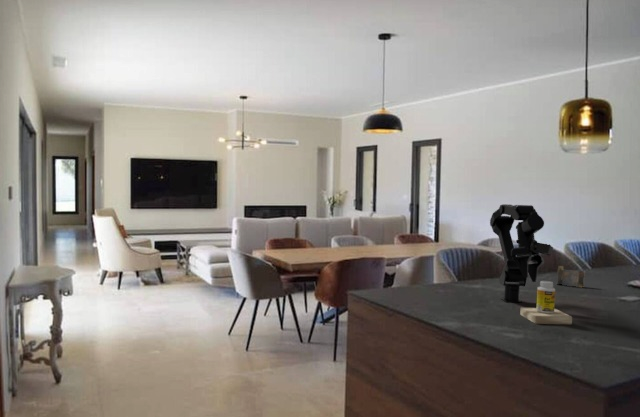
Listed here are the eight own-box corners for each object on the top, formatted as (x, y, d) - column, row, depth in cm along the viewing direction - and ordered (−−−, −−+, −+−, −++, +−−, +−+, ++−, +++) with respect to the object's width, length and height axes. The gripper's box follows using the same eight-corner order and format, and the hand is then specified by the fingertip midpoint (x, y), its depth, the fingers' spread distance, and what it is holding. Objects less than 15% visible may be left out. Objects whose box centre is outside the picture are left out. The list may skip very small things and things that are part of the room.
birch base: (520, 314, 181) (520, 307, 180) (554, 315, 181) (554, 308, 181) (535, 323, 169) (535, 315, 168) (571, 324, 169) (572, 316, 169)
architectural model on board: (556, 286, 243) (557, 265, 242) (556, 285, 246) (557, 264, 245) (583, 288, 238) (585, 267, 238) (583, 287, 241) (584, 266, 240)
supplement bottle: (543, 314, 171) (544, 283, 171) (532, 310, 177) (534, 280, 176) (557, 313, 173) (559, 283, 172) (547, 309, 178) (548, 280, 178)
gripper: (540, 228, 179) (545, 272, 174) (556, 240, 193) (561, 282, 188) (508, 233, 186) (512, 276, 181) (525, 244, 199) (529, 284, 194)
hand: (530, 279), depth 186 cm, fingers open, 9 cm apart
